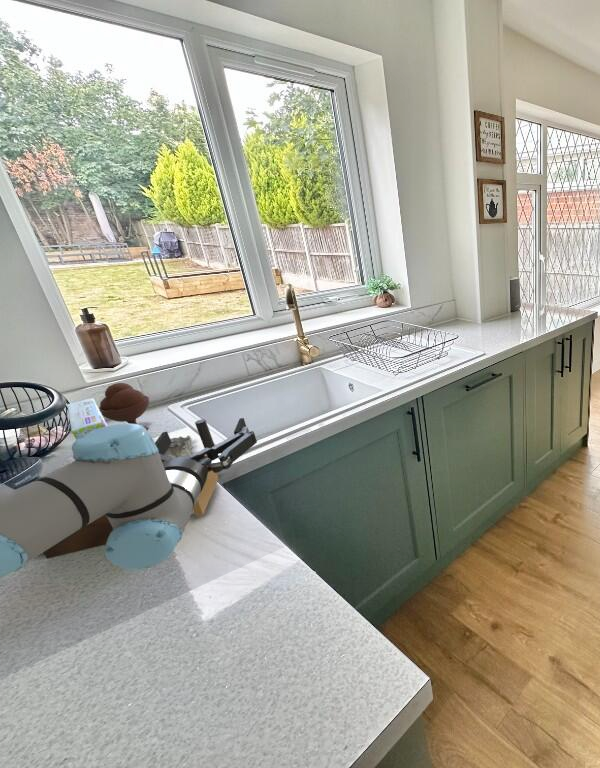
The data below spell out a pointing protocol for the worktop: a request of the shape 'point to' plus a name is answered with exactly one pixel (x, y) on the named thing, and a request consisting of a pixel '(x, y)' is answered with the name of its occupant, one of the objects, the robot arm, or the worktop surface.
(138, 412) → the ice cream bowl
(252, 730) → the worktop surface
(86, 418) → the snack box
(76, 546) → the storage box
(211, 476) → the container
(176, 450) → the grey rock
